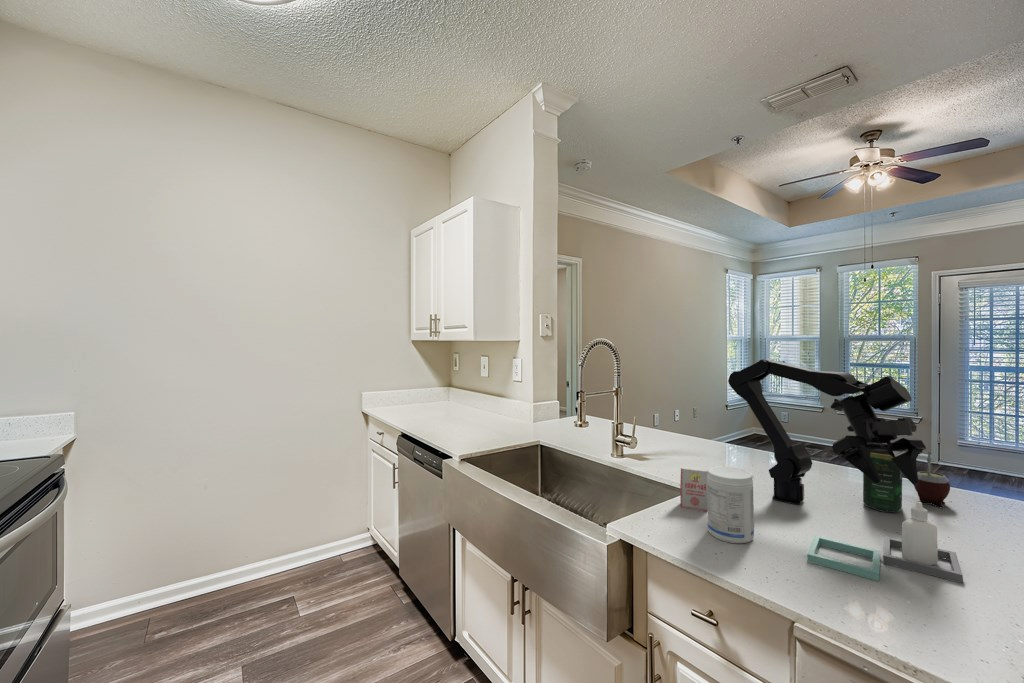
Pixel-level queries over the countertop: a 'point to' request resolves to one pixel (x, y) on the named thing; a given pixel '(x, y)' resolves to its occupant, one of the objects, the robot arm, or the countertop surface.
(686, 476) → the white red printed box
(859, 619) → the countertop surface
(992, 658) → the countertop surface
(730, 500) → the supplement tub
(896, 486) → the coffee jar
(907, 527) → the eye dropper bottle
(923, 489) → the mate gourd
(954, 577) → the upper socket
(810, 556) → the lower socket
